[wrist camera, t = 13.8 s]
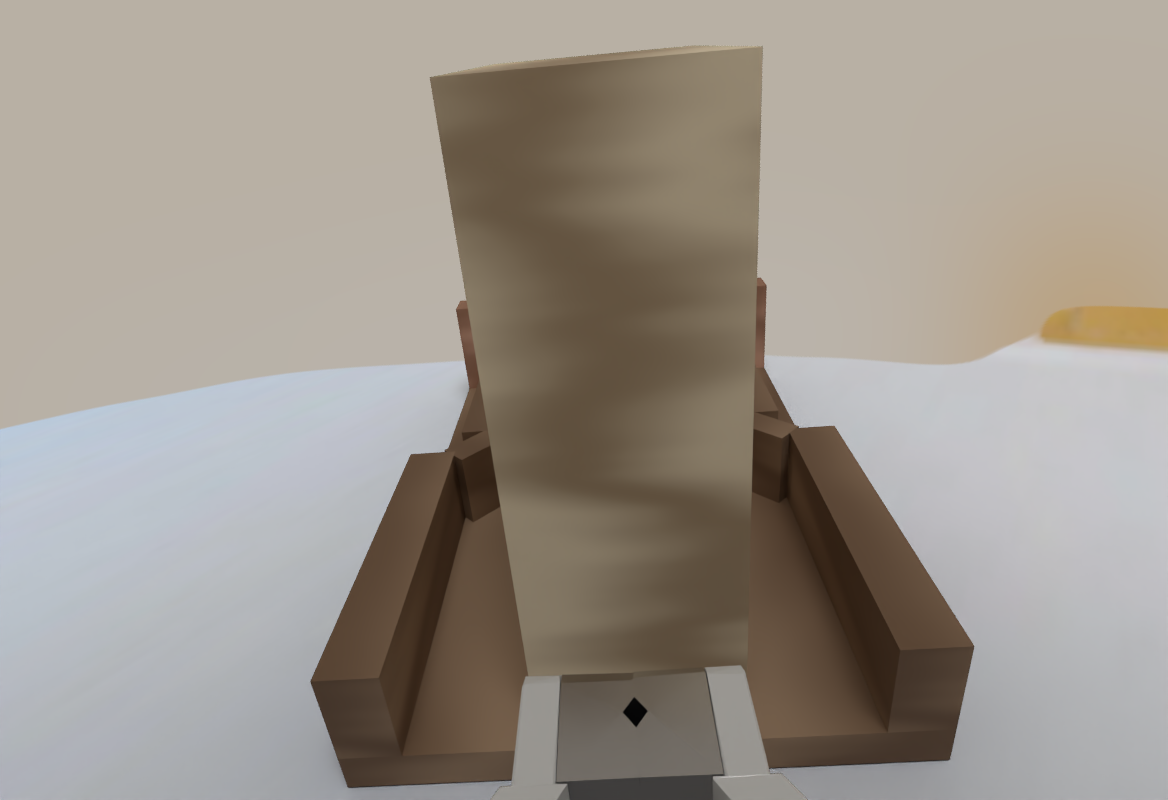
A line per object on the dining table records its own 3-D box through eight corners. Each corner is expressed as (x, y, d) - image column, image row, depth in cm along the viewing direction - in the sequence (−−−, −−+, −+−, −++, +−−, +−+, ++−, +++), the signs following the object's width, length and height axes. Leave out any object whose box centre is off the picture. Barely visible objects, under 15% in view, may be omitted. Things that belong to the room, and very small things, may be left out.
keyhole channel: (758, 376, 35) (760, 277, 33) (949, 759, 16) (986, 590, 14) (476, 396, 36) (460, 301, 33) (347, 787, 17) (292, 628, 15)
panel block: (700, 509, 24) (693, 45, 18) (746, 707, 17) (762, 46, 11) (552, 518, 24) (494, 64, 18) (535, 718, 17) (430, 76, 11)
